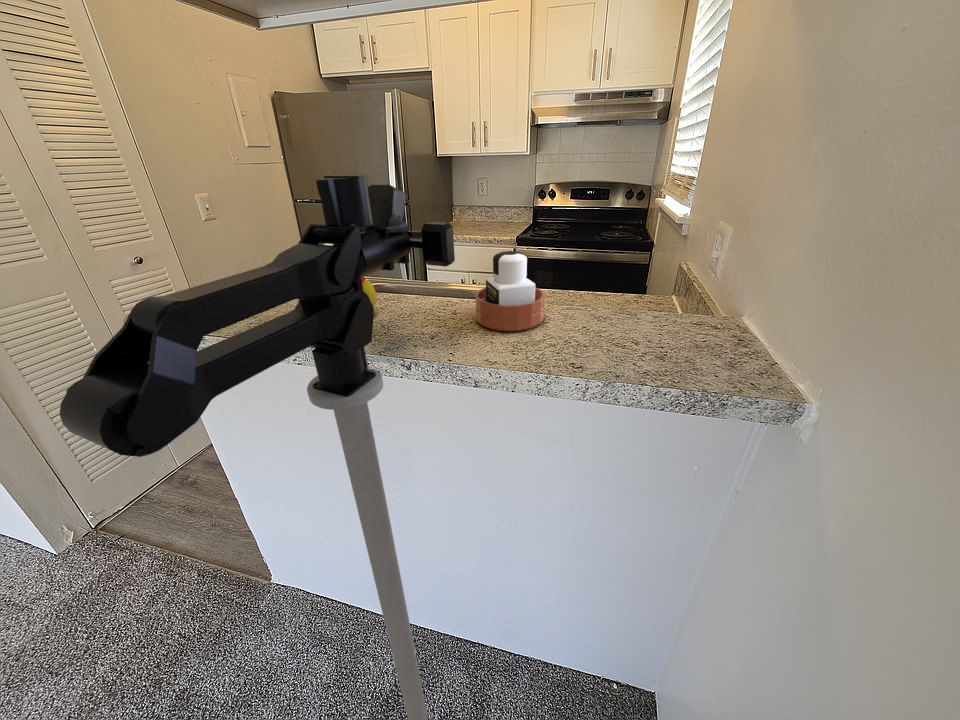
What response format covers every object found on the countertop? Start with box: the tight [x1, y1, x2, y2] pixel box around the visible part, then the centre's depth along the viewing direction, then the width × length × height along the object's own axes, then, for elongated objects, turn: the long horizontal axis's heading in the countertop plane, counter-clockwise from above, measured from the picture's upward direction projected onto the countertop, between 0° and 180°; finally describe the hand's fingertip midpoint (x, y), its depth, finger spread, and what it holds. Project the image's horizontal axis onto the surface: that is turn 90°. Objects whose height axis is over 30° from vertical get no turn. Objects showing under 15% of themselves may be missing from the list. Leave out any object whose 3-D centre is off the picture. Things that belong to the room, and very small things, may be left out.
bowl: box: [475, 286, 546, 332], centre depth 76 cm, size 13×13×5 cm
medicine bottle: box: [485, 250, 536, 305], centre depth 74 cm, size 7×7×12 cm
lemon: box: [362, 278, 377, 309], centre depth 79 cm, size 6×6×8 cm
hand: (426, 232), depth 71 cm, fingers open, 9 cm apart
